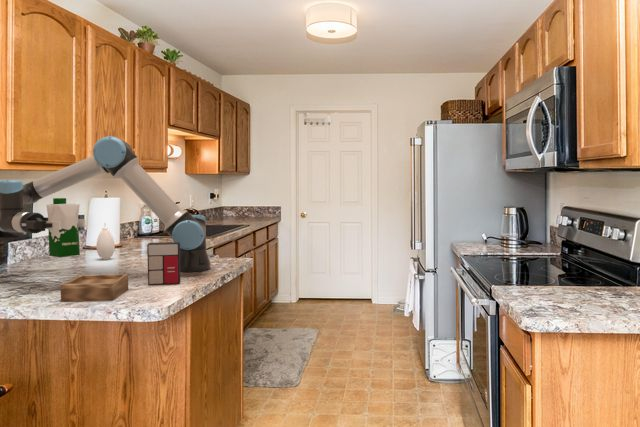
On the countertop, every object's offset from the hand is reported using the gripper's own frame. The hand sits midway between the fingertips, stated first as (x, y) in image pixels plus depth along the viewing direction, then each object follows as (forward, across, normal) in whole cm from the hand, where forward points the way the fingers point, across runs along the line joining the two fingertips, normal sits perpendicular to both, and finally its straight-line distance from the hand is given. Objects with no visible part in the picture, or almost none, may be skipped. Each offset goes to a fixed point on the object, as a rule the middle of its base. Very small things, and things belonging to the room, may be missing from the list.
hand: (72, 224), depth 160 cm
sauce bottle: (-43, -50, -22) cm, 70 cm away
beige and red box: (+22, -19, -23) cm, 37 cm away
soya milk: (-5, 0, -11) cm, 12 cm away
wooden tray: (+15, +4, -22) cm, 27 cm away
